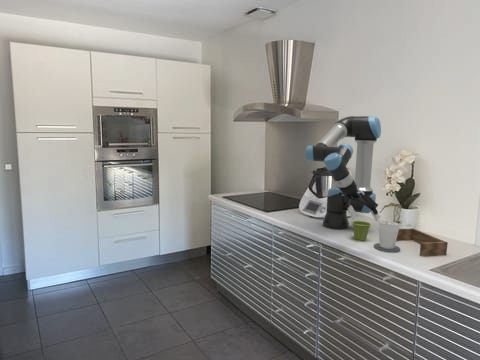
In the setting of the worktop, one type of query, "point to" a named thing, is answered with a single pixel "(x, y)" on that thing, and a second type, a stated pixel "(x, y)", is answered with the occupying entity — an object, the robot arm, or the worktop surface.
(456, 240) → the worktop surface
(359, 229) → the plant pot
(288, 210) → the worktop surface
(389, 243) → the cup
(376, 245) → the disc
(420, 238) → the u-shaped wooden rail
